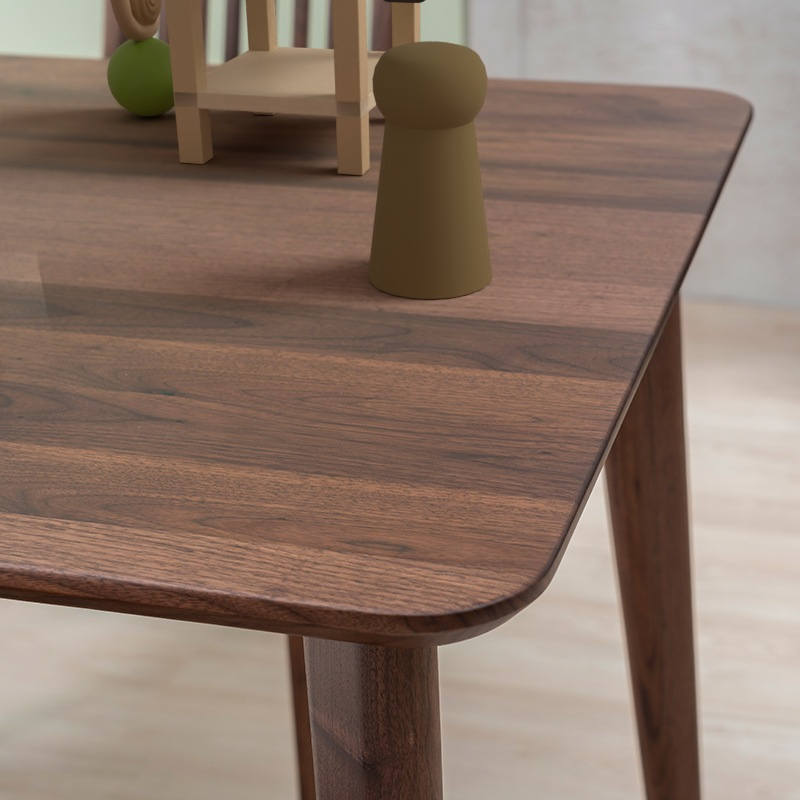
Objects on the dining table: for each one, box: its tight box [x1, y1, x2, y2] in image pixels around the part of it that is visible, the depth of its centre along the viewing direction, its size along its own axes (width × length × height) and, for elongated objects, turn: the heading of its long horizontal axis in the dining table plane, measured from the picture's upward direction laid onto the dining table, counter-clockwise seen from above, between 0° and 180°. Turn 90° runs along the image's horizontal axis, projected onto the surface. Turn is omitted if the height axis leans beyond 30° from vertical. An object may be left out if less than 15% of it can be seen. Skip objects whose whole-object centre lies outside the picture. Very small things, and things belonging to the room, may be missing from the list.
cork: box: [367, 40, 493, 300], centre depth 59 cm, size 6×6×11 cm
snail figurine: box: [106, 0, 175, 117], centre depth 86 cm, size 5×6×12 cm
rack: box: [164, 0, 421, 176], centre depth 81 cm, size 12×14×12 cm
